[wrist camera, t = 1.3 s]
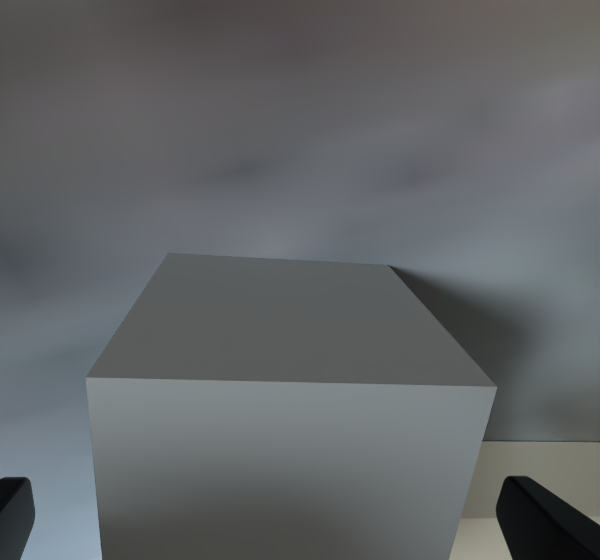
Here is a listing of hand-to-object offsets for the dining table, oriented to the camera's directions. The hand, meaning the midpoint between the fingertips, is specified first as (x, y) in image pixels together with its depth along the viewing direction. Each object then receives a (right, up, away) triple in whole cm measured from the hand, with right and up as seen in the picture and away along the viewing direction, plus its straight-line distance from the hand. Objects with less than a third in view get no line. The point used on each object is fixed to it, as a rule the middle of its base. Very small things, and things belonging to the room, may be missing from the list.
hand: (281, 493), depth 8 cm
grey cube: (0, +2, +5) cm, 5 cm away
